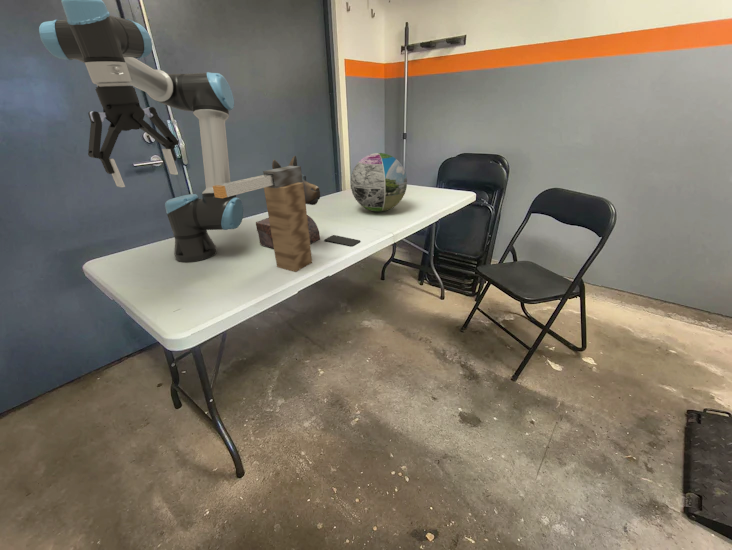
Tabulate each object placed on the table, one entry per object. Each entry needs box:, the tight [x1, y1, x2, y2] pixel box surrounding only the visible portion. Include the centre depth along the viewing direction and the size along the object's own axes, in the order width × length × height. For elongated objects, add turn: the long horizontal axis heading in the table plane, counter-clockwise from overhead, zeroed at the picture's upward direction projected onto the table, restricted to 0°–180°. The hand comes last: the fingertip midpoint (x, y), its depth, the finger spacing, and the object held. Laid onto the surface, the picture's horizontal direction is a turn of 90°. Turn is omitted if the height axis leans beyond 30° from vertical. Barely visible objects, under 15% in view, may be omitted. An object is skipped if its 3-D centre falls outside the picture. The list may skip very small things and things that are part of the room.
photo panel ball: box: [350, 152, 408, 213], centre depth 174 cm, size 30×30×30 cm
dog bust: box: [255, 155, 321, 249], centre depth 130 cm, size 19×28×35 cm, turn 57°
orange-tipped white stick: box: [213, 174, 275, 198], centre depth 96 cm, size 23×3×3 cm, turn 148°
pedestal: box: [262, 165, 313, 273], centre depth 113 cm, size 12×9×34 cm
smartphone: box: [323, 234, 362, 248], centre depth 140 cm, size 7×1×15 cm
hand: (149, 180), depth 85 cm, fingers open, 13 cm apart
